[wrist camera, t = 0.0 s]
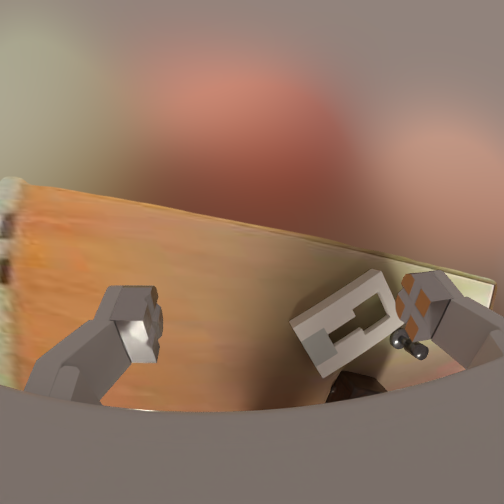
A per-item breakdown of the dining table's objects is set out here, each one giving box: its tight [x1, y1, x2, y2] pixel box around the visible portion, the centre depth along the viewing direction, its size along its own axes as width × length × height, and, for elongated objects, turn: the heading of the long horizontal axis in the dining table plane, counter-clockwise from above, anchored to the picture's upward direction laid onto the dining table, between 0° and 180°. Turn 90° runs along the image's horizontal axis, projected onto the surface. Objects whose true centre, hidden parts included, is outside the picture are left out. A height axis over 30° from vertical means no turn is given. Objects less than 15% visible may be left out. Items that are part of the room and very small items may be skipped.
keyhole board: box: [289, 269, 404, 378], centre depth 64 cm, size 14×22×5 cm, turn 120°
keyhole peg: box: [390, 328, 429, 360], centre depth 62 cm, size 5×5×12 cm
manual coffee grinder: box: [326, 371, 388, 403], centre depth 59 cm, size 16×11×18 cm
